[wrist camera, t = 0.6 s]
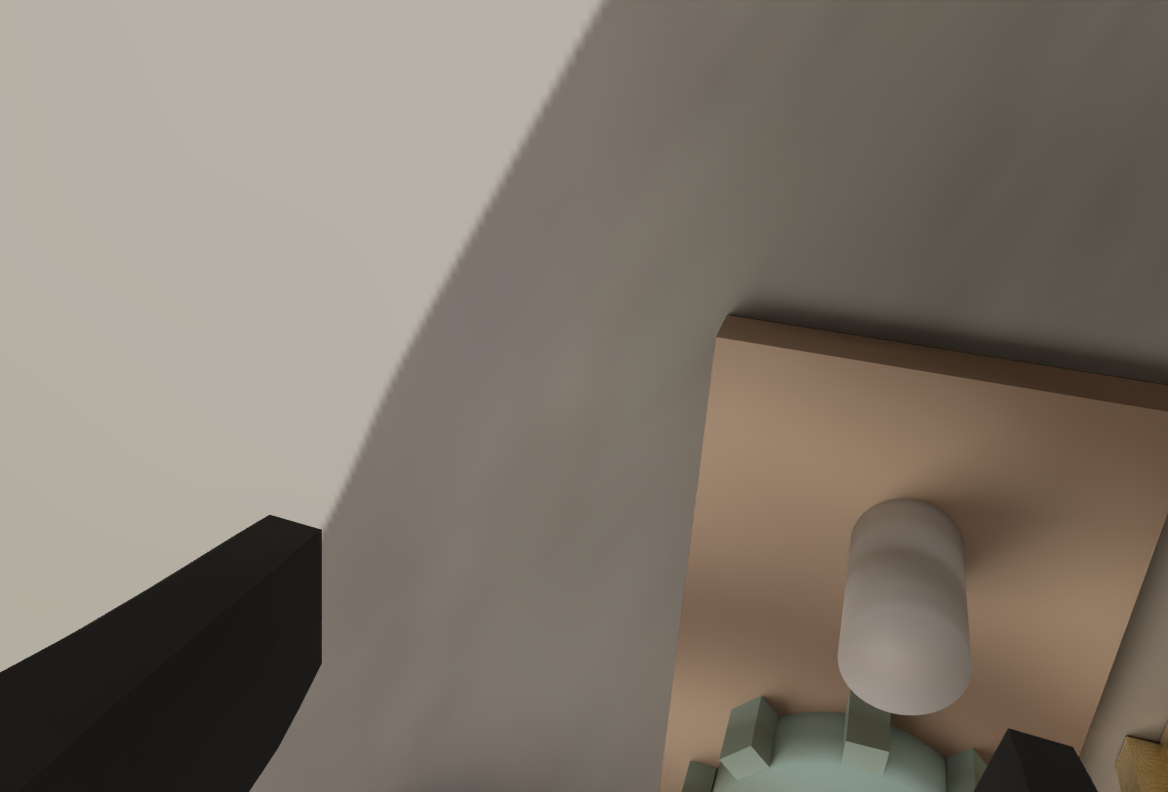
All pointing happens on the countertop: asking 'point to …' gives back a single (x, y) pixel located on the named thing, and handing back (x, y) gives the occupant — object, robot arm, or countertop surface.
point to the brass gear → (1143, 765)
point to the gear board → (929, 440)
